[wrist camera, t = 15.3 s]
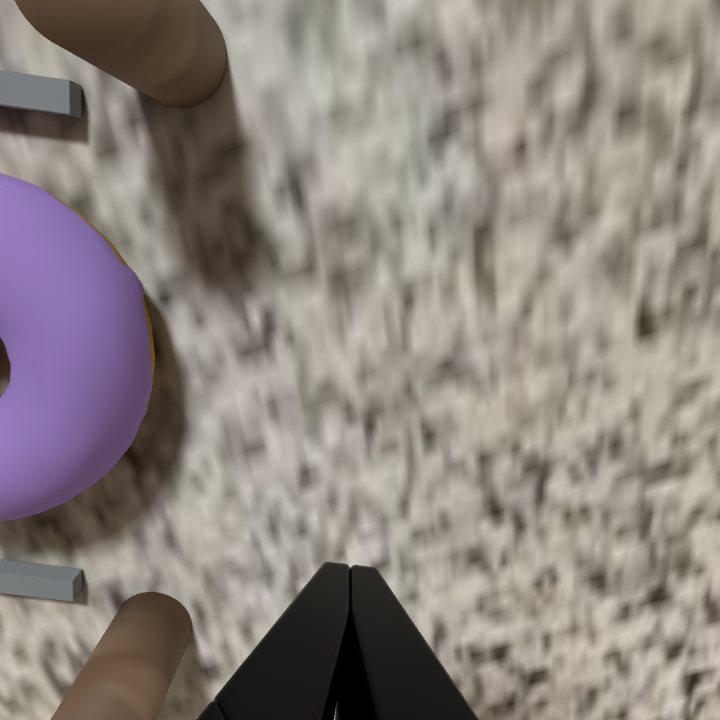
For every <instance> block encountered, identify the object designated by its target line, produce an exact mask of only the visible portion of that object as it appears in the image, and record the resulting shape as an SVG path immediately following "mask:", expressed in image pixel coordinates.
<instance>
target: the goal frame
mask: <svg viewBox="0 0 720 720" xmlns="http://www.w3.org/2000/svg"><path fill="white" fill-rule="evenodd" d="M0 107H5V108H13V109H20V110H27V111H34V112H41V113H48V114H55V115H63V116H70V117H77V118H81V86H80V85H78V84H76V83H74V82H72V81H70V80H64V79H56V78H49V77H42V76H35V75H28V74H21V73H14V72H7V71H0ZM81 590H82V569H75V568H67V567H58V566H50V565H42V564H33V563H25V562H16V561H8V560H0V593H4V594H12V595H21V596H30V597H38V598H47V599H55V600H64V601H74V599H75V598H76V597H77V595H78V594H79V593H80V591H81Z"/></svg>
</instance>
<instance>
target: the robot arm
mask: <svg viewBox="0 0 720 720" xmlns="http://www.w3.org/2000/svg"><path fill="white" fill-rule="evenodd" d="M335 709H336V714H335ZM334 715H335V720H479V719H478V718H477V716H476V715H475V713H474V712H473V710H472V709H471V707H470V706H469V704H468V703H467V701H466V700H465V698H464V697H463V695H462V694H461V692H460V691H459V690H458V688H457V687H456V685H455V684H454V682H453V681H452V679H451V678H450V676H449V675H448V673H447V672H446V670H445V669H444V667H443V666H442V664H441V663H440V661H439V660H438V658H437V657H436V656H435V654H434V653H433V651H432V650H431V648H430V647H429V645H428V644H427V642H426V641H425V639H424V638H423V636H422V635H421V633H420V632H419V630H418V629H417V627H416V626H415V624H414V623H413V622H412V620H411V619H410V617H409V616H408V614H407V613H406V611H405V610H404V608H403V607H402V605H401V604H400V602H399V601H398V599H397V598H396V596H395V595H394V593H393V592H392V590H391V589H390V588H389V586H388V585H387V583H386V582H385V580H384V579H383V577H382V576H381V574H380V573H379V571H378V570H377V569H376V568H374V567H367V566H359V565H353V566H352V567H351V568H350V567H349V566H348V565H347V564H342V563H334V562H325V563H324V564H323V565H322V566H321V567H320V568H319V570H318V571H317V572H316V573H315V575H314V576H313V577H312V578H311V580H310V581H309V582H308V583H307V584H306V586H305V587H304V588H303V589H302V591H301V592H300V593H299V594H298V596H297V597H296V598H295V599H294V600H293V602H292V603H291V604H290V605H289V607H288V608H287V609H286V610H285V612H284V613H283V614H282V615H281V617H280V618H279V619H278V620H277V621H276V623H275V624H274V625H273V626H272V628H271V629H270V630H269V631H268V633H267V634H266V635H265V636H264V638H263V639H262V640H261V641H260V642H259V644H258V645H257V646H256V647H255V649H254V650H253V651H252V652H251V654H250V655H249V656H248V657H247V659H246V660H245V661H244V662H243V663H242V665H241V666H240V667H239V668H238V670H237V671H236V672H235V673H234V675H233V676H232V677H231V678H230V680H229V681H228V682H227V683H226V684H225V686H224V687H223V688H222V689H221V691H220V692H219V693H218V694H217V696H216V697H215V699H214V701H212V702H211V703H210V704H209V705H208V706H207V707H206V709H205V710H204V711H203V712H202V714H201V715H200V716H199V717H198V719H197V720H334Z"/></svg>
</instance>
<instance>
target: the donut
mask: <svg viewBox="0 0 720 720" xmlns="http://www.w3.org/2000/svg"><path fill="white" fill-rule="evenodd" d="M143 292H144V289H143V286H142V284H141V282H140V280H139V279H138V277H137V276H136V274H135V273H134V271H132V270H131V269H130V268H129V267H128V265H127V264H126V263H125V261H124V260H123V258H122V257H121V255H120V254H119V252H118V251H117V250H116V248H115V247H114V245H113V244H112V243H111V242H110V241H109V240H108V239H107V238H106V237H105V236H104V235H103V234H102V233H101V232H100V231H98V230H97V229H96V228H95V227H94V226H93V225H92V224H91V223H90V222H89V221H88V220H87V219H86V218H85V217H84V216H83V215H82V214H81V213H79V212H78V211H76V210H75V209H73V208H72V207H70V206H68V205H67V204H65V203H64V202H62V201H61V200H59V199H58V198H56V197H54V196H53V195H51V194H50V193H48V192H46V191H45V190H43V189H42V188H40V187H38V186H36V185H33V184H31V183H28V182H25V181H22V180H19V179H16V178H14V177H11V176H8V175H5V174H2V173H0V338H1V339H2V341H3V342H4V344H5V348H6V351H7V354H8V357H9V361H10V364H11V372H10V382H9V384H8V387H7V389H6V391H5V393H4V394H3V395H2V396H1V398H0V522H4V521H11V520H17V519H20V518H24V517H28V516H31V515H35V514H39V513H41V512H44V511H46V510H49V509H51V508H53V507H56V506H58V505H61V504H63V503H65V502H67V501H69V500H70V499H72V498H74V497H75V496H77V495H79V494H80V493H82V492H83V491H85V490H87V489H88V488H89V487H91V486H92V485H93V484H95V483H96V482H97V481H99V480H100V479H101V478H102V477H104V476H105V475H106V474H107V473H108V472H109V471H110V470H111V469H112V468H113V467H114V466H115V465H116V463H117V462H118V461H119V460H120V458H121V457H122V456H123V455H124V453H125V452H126V451H127V450H128V448H129V447H130V446H131V444H132V442H133V440H134V439H135V437H136V435H137V433H138V430H139V427H140V424H141V422H142V420H143V418H144V417H145V416H146V414H147V411H148V409H149V408H148V404H149V401H150V397H151V391H152V386H153V383H154V368H155V353H154V344H153V334H152V325H151V321H150V317H149V314H148V310H147V306H146V303H145V299H144V297H143Z"/></svg>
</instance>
